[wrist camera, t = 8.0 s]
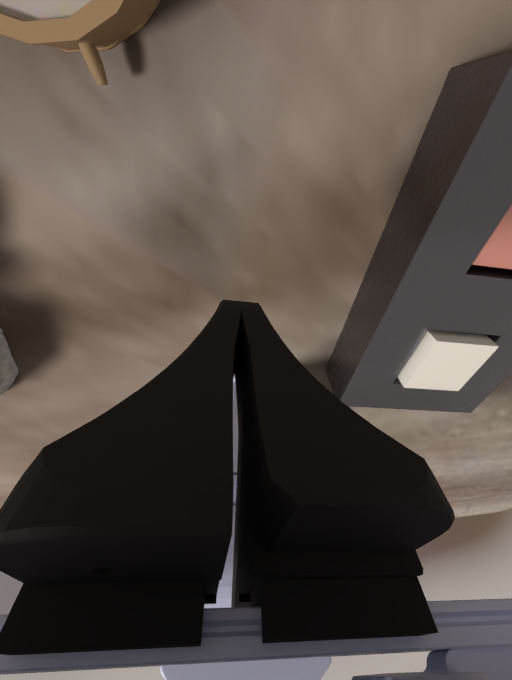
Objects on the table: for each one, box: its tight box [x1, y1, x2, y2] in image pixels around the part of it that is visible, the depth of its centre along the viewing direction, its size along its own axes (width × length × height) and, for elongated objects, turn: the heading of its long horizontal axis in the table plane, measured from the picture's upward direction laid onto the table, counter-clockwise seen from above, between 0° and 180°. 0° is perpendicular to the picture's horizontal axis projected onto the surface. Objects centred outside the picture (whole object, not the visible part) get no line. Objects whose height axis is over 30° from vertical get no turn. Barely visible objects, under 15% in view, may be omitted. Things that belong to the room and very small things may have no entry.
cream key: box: [397, 329, 499, 391], centre depth 20 cm, size 4×4×3 cm
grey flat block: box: [326, 51, 512, 413], centre depth 18 cm, size 20×12×4 cm, turn 172°
